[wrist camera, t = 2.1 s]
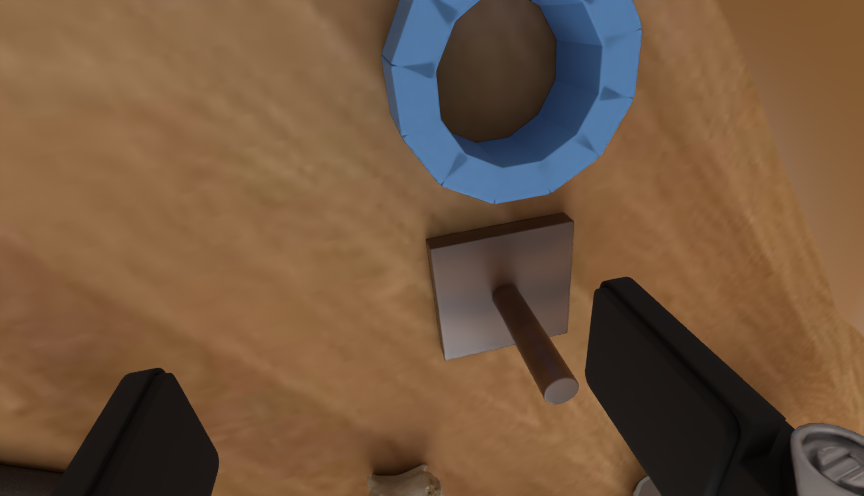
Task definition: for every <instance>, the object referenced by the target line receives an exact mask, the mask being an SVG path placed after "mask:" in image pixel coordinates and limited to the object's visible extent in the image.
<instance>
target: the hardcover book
mask: <svg viewBox="0 0 864 496" xmlns="http://www.w3.org/2000/svg"><path fill="white" fill-rule="evenodd" d="M62 476H63V474H61V473H54V472H47V471H40V470H33V469H26V468H19V467H12V466H5V465H0V496H50V495H51V494H52V492H53V490H54V489H55V487H56V486H57V484H58V482H59V481H60V479H61V477H62Z"/></svg>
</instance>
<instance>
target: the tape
mask: <svg viewBox="0 0 864 496" xmlns="http://www.w3.org/2000/svg"><path fill="white" fill-rule="evenodd" d="M478 1H479V0H400V1H399V4H398V7H397V10H396V13H395V16H394V19H393V22H392V25H391V28H390V31H389V34H388V37H387V40H386V43H385V45H384V48H383V51H382V55H383V57H382V64H383V70H384V76H385V82H386V89H387V95H388V101H389V107H390V113H391V116H392V118H393V120H394V122H395V124H396V126H397V128H398V130H399V132H400V134H401V136H402V138H403V140H404V141H405V142H406V144H407V145H408V146H409V147H410V149H411V150H412V151H413V152H414V154H415V155H416V156H417V157H418V159H419V160H420V161H421V162H422V164H423V165H424V166H425V167H426V169H427V170H428V171H429V172H430V174H431V175H432V176H433V177H434V179H435V180H436V181H437V182H438V184H441V186H442V187H445V188H448V189H451V190H454V191H457V192H460V193H462V194H465V195H468V196H471V197H474V198H477V199H480V200H482V201H485V202H488V203H491V204H493V203H495V204H499V203H505V202H510V201H515V200H520V199H526V198H531V197H536V196H542V195H547V194H549V192H551V193H552V192H553V191H555V190H556V189H557V188H559V187H560V186H562V185H563V184H564V183H566V182H567V181H568V180H570V179H571V178H572V177H574V176H575V175H576V174H578V173H579V172H580V171H582V170H583V169H584V168H586V167H587V166H589V165H590V164H591V163H593V162H594V161H595V160H597V159H598V158H599V156H598V155H602V153H603V151H604V150H605V148H606V146H607V144H608V143H609V141H610V139H611V138H612V136H613V134H614V133H615V131H616V129H617V127H618V126H619V124H620V122H621V121H622V119H623V117H624V115H625V114H626V112H627V110H628V109H629V107H630V105H631V104H632V102H633V99H632V98H631V97H634V96H635V89H636V80H637V72H638V64H639V55H640V47H641V39H642V29H639V28H640V27H641V26H642V24H641V21H640V19H639V16H638V13H637V11H636V8H635V6H634V3H633V0H530V1H532V2H534V3H536V4H537V5H539V6H540V8H541V10H542V12H543V14H544V16H545V18H546V20H547V22H548V24H549V26H550V28H551V30H552V32H553V34H554V36H555V38H556V40H557V46H556V80H555V82H554V84H553V86H552V88H551V90H550V92H549V94H548V96H547V98H546V100H545V102H544V104H543V106H542V108H541V110H540V112H539V114H538V115H537V116H536V117H534V118H533V119H532V120H531V121H529V122H528V123H527V124H526V125H524V126H523V127H522V128H520V129H519V130H518V131H517V132H515V133H514V134H513V135H511V136H510V137H507V138H501V139H495V140H489V141H483V142H478V143H475V142H473V141H470V140H468V139H465V138H463V137H460V136H458V135H455V134H453V133H451V132H450V131H449V130H448V128H447V127H446V125H445V124H444V123H443V121H442V120H441V115H440V106H439V96H438V86H437V77H436V70H437V67H438V64H439V62H440V59H441V57H442V54H443V52H444V49H445V47H446V44H447V42H448V39H449V36H450V34H451V31H452V29H453V26H454V24H455V21H456V20H457V19H458V18H460V17H461V16H462V15H463V14H464V13H465V12H467V11H468V10H469V9H470V8H471V7H472V6H474V5H475V4H476V3H477V2H478Z"/></svg>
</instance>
